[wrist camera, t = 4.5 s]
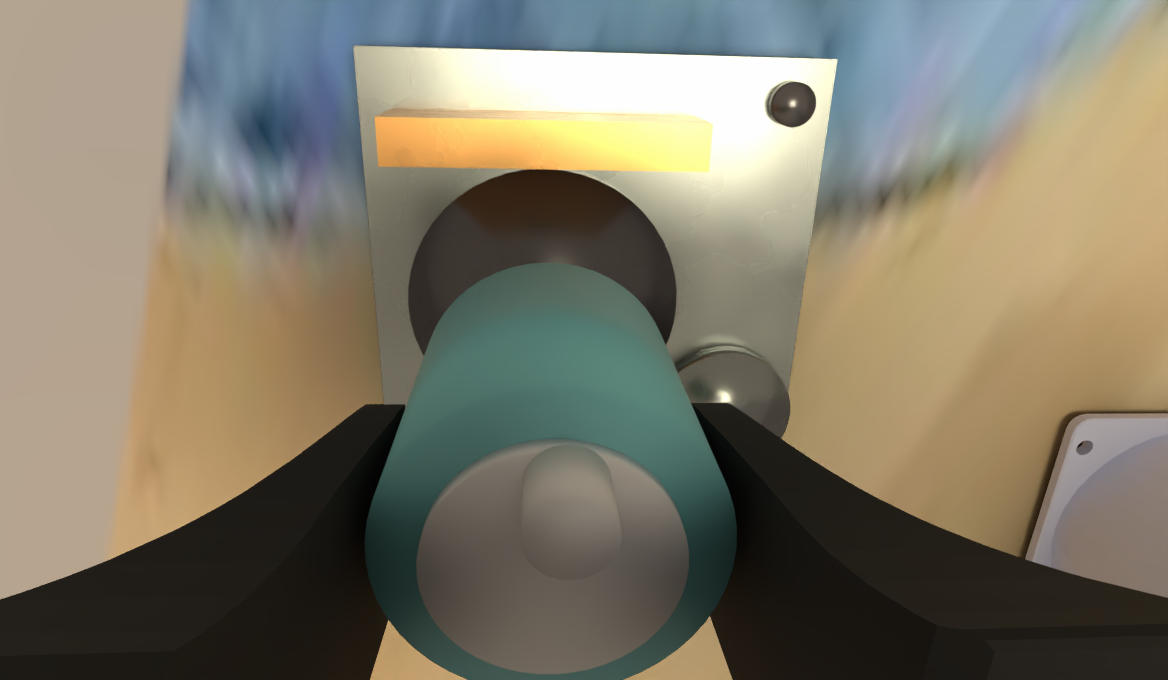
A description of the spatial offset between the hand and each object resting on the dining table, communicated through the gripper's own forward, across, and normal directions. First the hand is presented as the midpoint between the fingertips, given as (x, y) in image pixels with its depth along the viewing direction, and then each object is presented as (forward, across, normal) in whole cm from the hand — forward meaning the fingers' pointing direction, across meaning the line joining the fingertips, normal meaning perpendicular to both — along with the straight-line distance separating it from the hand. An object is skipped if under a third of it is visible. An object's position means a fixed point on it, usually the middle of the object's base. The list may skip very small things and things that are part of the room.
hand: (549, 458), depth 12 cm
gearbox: (+9, -1, 0) cm, 9 cm away
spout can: (+2, 0, 0) cm, 2 cm away
